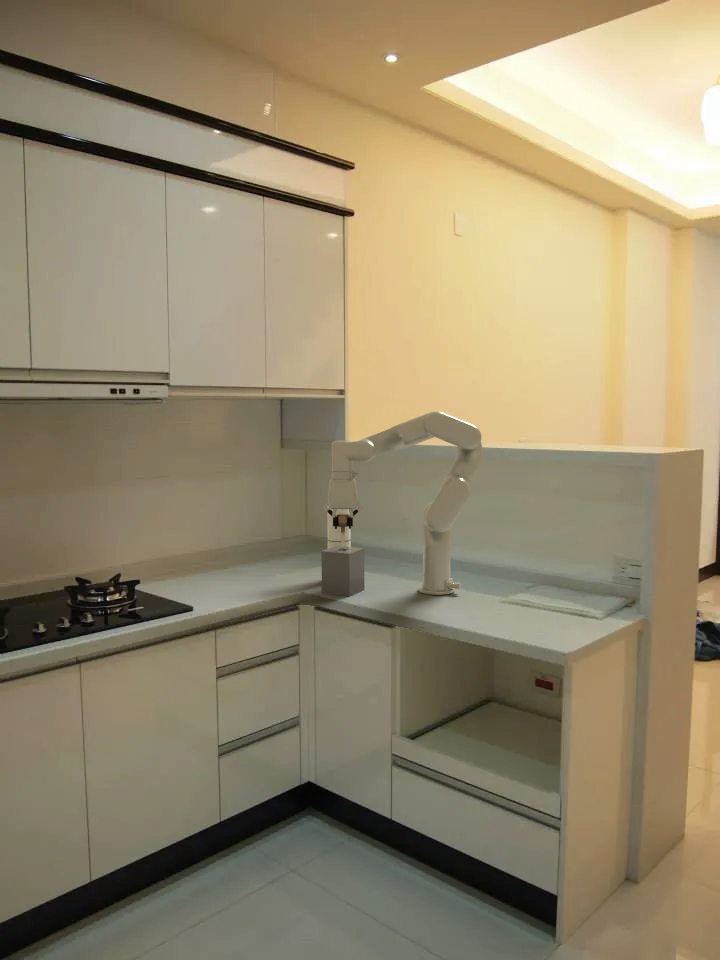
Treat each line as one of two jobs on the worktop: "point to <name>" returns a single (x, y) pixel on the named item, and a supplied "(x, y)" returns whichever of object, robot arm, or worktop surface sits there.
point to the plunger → (342, 527)
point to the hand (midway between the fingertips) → (342, 527)
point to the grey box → (342, 571)
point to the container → (337, 531)
